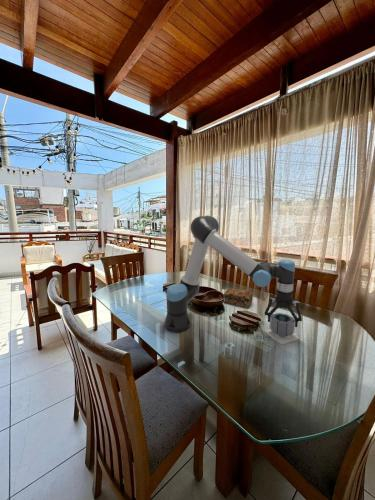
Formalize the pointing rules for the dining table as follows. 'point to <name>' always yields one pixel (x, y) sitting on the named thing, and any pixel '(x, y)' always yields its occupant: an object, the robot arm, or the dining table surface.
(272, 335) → the block
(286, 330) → the ring
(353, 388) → the dining table surface
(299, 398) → the dining table surface
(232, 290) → the bread
